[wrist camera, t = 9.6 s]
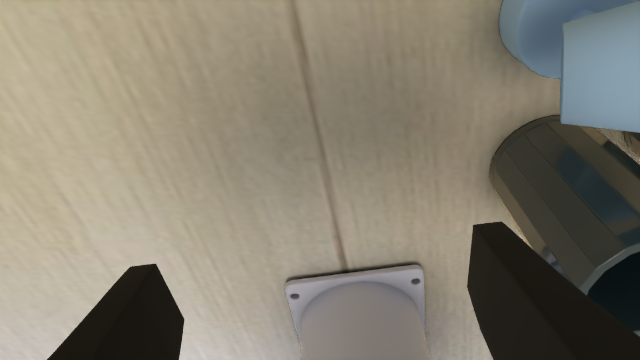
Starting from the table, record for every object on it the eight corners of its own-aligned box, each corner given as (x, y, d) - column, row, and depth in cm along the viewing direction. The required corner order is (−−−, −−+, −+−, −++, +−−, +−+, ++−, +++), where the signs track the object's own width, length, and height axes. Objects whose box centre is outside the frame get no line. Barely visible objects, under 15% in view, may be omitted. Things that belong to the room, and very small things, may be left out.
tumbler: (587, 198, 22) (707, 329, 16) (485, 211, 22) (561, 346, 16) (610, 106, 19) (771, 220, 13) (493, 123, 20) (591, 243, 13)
